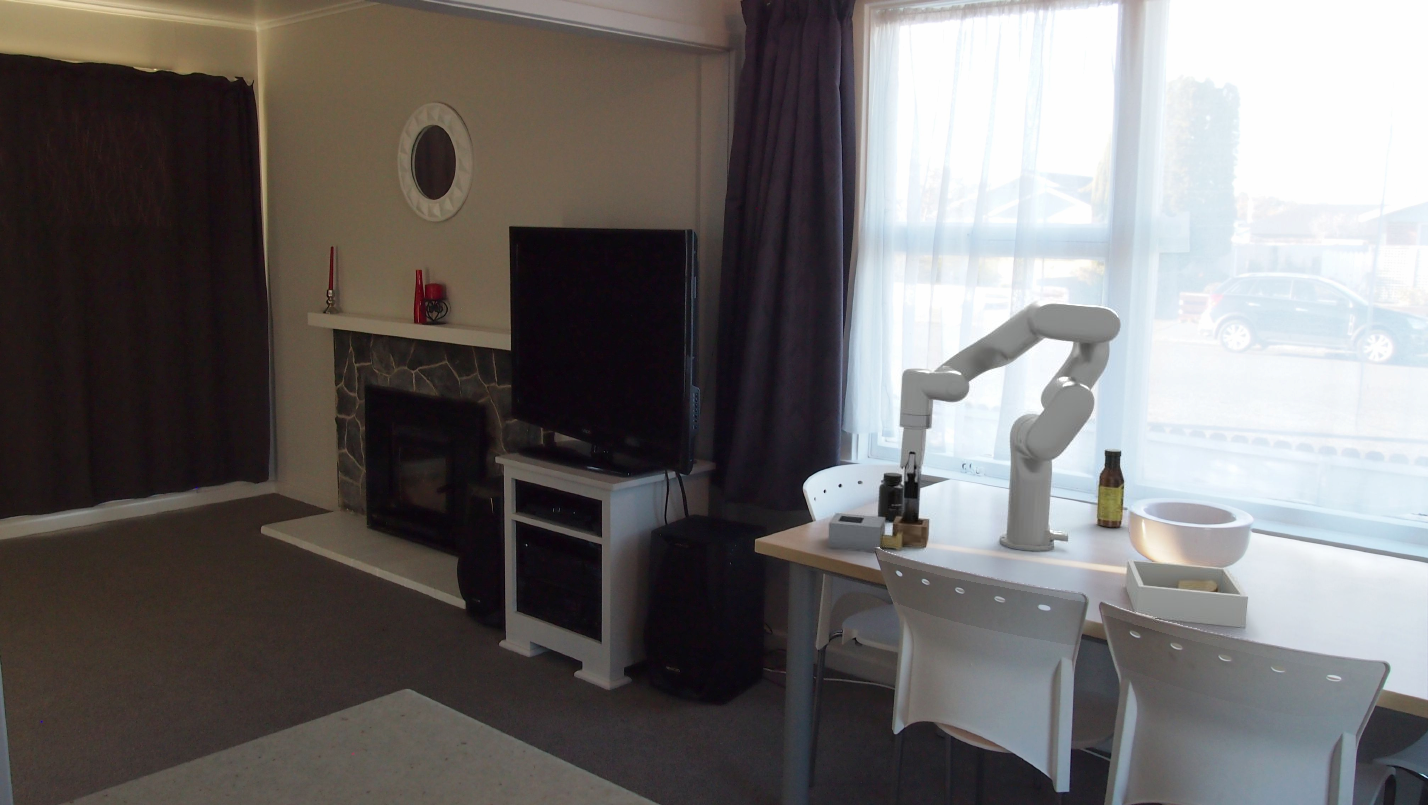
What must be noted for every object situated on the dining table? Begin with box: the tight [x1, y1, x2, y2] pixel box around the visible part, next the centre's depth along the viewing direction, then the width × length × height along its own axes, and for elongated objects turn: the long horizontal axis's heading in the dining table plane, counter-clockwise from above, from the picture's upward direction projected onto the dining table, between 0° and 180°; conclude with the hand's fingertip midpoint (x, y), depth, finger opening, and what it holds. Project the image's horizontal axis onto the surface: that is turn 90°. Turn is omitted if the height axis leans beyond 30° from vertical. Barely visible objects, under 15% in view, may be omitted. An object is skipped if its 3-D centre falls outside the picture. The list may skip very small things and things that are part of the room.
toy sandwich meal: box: [1157, 580, 1218, 593], centre depth 204 cm, size 12×14×5 cm
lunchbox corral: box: [1125, 559, 1249, 629], centre depth 202 cm, size 19×19×6 cm
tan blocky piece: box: [881, 531, 904, 551], centre depth 241 cm, size 9×4×4 cm, turn 74°
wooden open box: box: [891, 516, 930, 549], centre depth 246 cm, size 8×8×5 cm
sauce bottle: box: [1096, 448, 1125, 528], centre depth 264 cm, size 6×6×20 cm
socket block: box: [827, 512, 886, 553], centre depth 242 cm, size 12×10×6 cm
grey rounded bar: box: [902, 464, 922, 523], centre depth 245 cm, size 4×4×14 cm
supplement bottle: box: [877, 472, 904, 522], centre depth 267 cm, size 7×7×12 cm
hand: (911, 495), depth 245 cm, fingers closed on grey rounded bar, 4 cm apart
